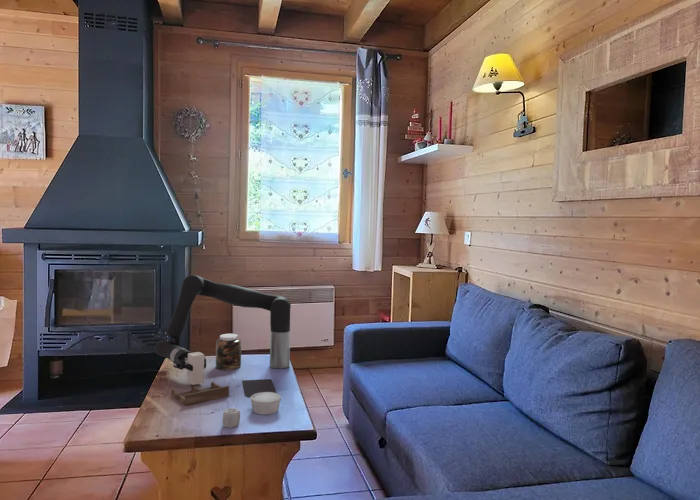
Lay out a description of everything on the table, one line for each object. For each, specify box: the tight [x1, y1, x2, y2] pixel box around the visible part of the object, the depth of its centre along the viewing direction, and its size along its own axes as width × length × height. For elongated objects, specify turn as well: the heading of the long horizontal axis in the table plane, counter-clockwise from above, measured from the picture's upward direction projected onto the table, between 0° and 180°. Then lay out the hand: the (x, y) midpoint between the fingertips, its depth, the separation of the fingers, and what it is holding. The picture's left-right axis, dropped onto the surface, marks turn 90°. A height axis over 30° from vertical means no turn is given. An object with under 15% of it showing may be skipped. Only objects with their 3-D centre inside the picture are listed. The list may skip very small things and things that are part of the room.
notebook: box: [241, 378, 277, 399], centre depth 213 cm, size 13×2×21 cm
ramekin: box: [250, 392, 282, 416], centre depth 191 cm, size 11×11×5 cm
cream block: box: [186, 351, 205, 386], centre depth 213 cm, size 5×5×12 cm
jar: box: [215, 333, 242, 371], centre depth 243 cm, size 12×12×15 cm
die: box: [221, 407, 241, 429], centre depth 177 cm, size 5×5×5 cm
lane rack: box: [170, 381, 230, 407], centre depth 201 cm, size 14×17×5 cm
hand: (198, 367), depth 211 cm, fingers closed on cream block, 5 cm apart
